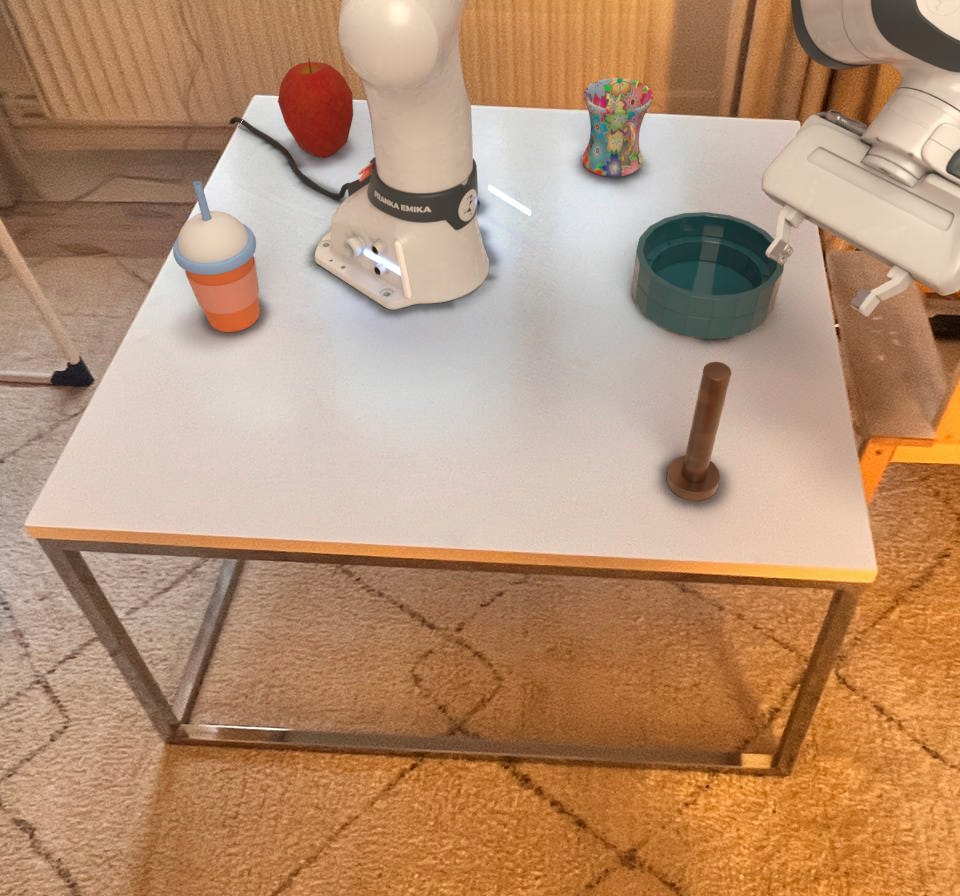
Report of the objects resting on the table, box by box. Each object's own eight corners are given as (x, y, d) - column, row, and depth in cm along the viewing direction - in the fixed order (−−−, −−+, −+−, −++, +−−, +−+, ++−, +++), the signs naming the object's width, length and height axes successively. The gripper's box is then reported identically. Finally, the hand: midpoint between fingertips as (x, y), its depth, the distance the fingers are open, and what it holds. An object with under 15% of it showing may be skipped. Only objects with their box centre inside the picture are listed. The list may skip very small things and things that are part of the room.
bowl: (607, 312, 110) (611, 268, 105) (667, 241, 119) (674, 197, 114) (739, 362, 103) (750, 317, 99) (792, 283, 113) (805, 238, 108)
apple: (370, 140, 138) (359, 47, 127) (338, 174, 131) (324, 79, 121) (309, 128, 140) (294, 36, 130) (275, 161, 134) (256, 67, 124)
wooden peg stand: (658, 487, 92) (678, 377, 80) (679, 455, 94) (702, 344, 83) (705, 508, 90) (733, 398, 79) (725, 475, 92) (755, 364, 81)
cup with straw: (256, 345, 107) (221, 211, 94) (183, 336, 109) (138, 203, 95) (283, 296, 113) (253, 164, 100) (213, 288, 115) (174, 157, 101)
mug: (571, 152, 134) (575, 81, 126) (632, 144, 135) (640, 73, 127) (595, 197, 126) (601, 125, 118) (660, 188, 127) (670, 116, 119)
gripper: (809, 86, 82) (714, 220, 86) (1020, 184, 71) (902, 333, 75) (828, 117, 87) (738, 242, 91) (1029, 213, 76) (918, 352, 80)
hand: (814, 284), depth 83 cm, fingers open, 8 cm apart
